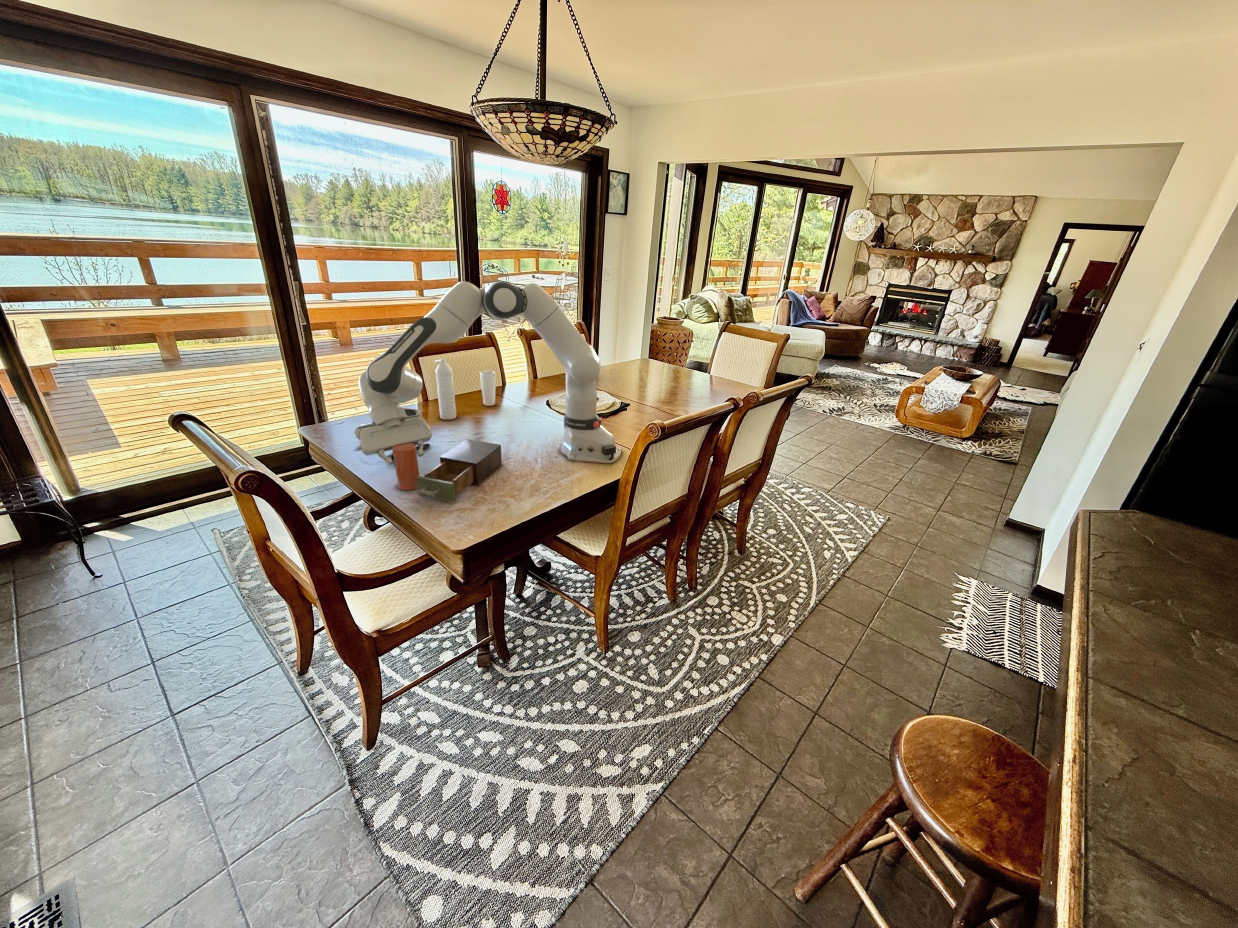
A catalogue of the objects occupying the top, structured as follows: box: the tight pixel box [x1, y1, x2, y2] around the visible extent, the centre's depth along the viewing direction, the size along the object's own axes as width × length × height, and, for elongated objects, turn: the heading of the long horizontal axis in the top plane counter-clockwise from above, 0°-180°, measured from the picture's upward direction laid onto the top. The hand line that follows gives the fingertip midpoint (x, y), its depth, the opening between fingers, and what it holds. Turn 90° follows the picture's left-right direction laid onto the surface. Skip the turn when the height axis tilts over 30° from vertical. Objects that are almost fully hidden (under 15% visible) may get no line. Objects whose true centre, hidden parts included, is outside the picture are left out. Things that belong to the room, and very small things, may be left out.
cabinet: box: [439, 438, 503, 487], centre depth 157 cm, size 16×13×8 cm
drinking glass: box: [479, 369, 497, 407], centre depth 216 cm, size 7×7×15 cm
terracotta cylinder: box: [391, 443, 421, 491], centre depth 145 cm, size 6×6×13 cm
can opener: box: [386, 442, 431, 462], centre depth 166 cm, size 18×7×6 cm, turn 159°
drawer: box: [416, 460, 475, 503], centre depth 143 cm, size 19×12×6 cm, turn 165°
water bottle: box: [434, 357, 457, 421], centre depth 195 cm, size 9×6×25 cm
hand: (406, 459), depth 144 cm, fingers open, 8 cm apart
